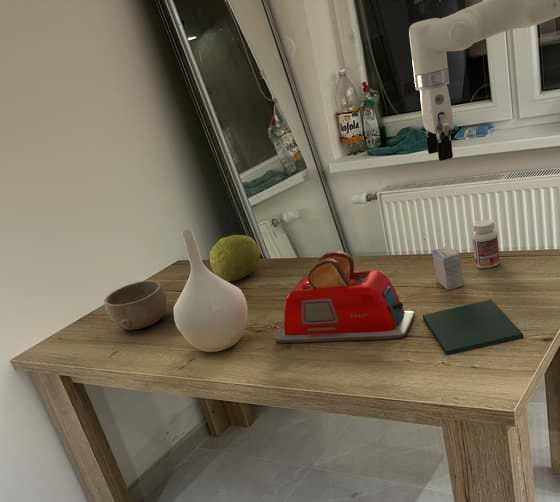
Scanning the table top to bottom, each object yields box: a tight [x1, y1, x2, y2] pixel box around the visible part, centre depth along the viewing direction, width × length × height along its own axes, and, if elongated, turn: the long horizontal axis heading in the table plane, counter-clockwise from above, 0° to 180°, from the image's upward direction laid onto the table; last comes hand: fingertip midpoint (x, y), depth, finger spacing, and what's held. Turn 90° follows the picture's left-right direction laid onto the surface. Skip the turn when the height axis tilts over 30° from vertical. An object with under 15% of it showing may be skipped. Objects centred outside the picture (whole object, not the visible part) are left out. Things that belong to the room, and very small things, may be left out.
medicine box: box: [431, 245, 464, 291], centre depth 171 cm, size 8×4×9 cm, turn 9°
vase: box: [173, 228, 249, 353], centre depth 166 cm, size 18×18×30 cm
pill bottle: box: [472, 219, 501, 269], centre depth 176 cm, size 6×6×11 cm
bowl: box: [103, 280, 167, 331], centre depth 196 cm, size 17×18×10 cm
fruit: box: [209, 234, 261, 283], centre depth 213 cm, size 16×14×15 cm
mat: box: [422, 299, 524, 356], centre depth 148 cm, size 16×20×1 cm
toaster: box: [275, 251, 416, 344], centre depth 158 cm, size 32×13×19 cm, turn 68°
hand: (440, 155), depth 162 cm, fingers open, 9 cm apart
